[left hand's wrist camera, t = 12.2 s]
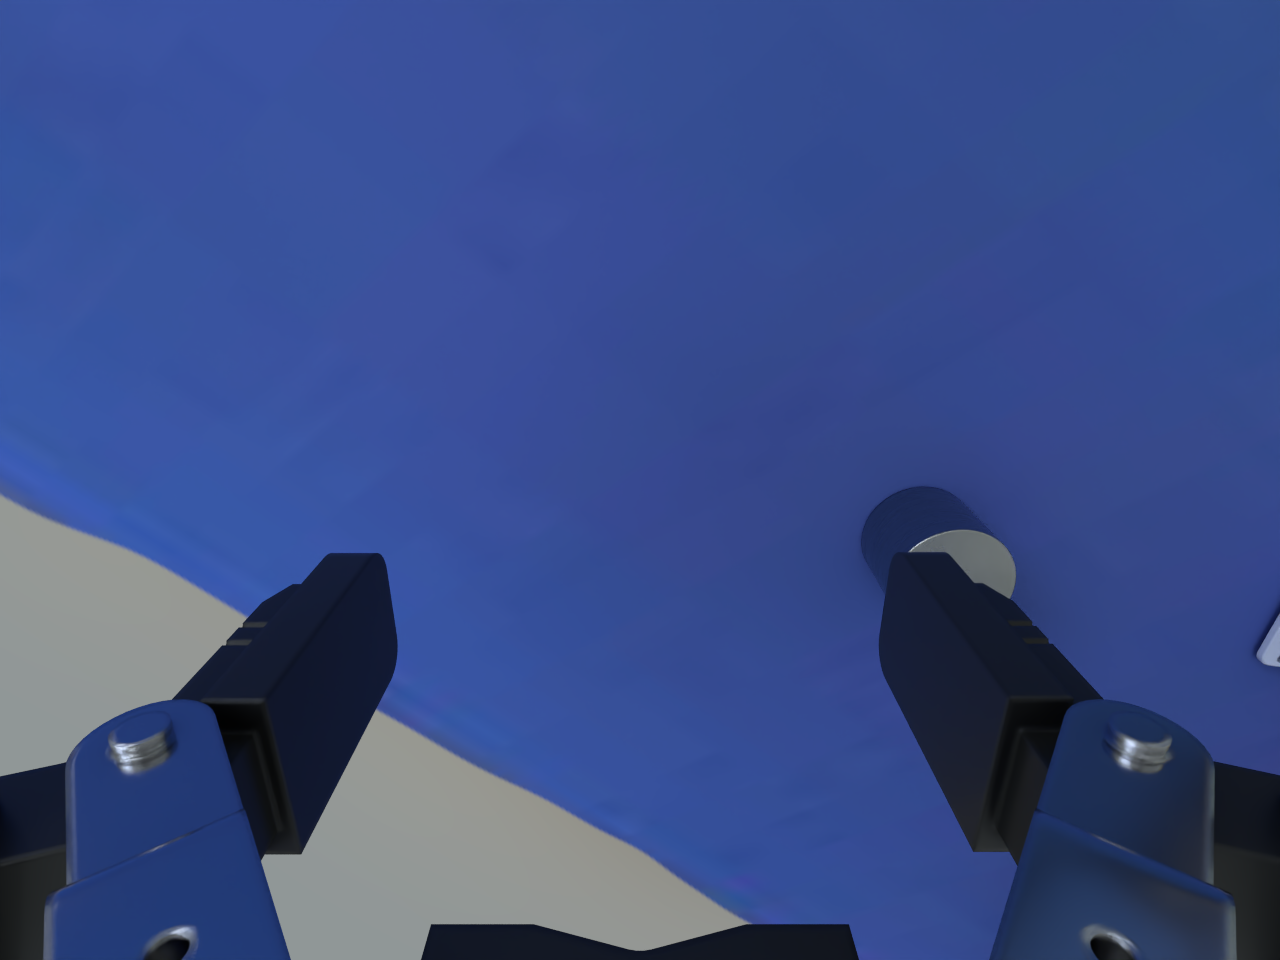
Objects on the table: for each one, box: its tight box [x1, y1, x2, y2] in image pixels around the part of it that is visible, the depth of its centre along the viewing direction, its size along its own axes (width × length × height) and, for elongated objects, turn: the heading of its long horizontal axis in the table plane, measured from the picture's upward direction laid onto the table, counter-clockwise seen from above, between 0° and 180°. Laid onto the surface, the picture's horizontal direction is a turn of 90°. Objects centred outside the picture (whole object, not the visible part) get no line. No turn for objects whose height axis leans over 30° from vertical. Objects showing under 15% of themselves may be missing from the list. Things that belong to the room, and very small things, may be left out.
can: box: [861, 487, 1016, 599], centre depth 31 cm, size 5×5×4 cm
